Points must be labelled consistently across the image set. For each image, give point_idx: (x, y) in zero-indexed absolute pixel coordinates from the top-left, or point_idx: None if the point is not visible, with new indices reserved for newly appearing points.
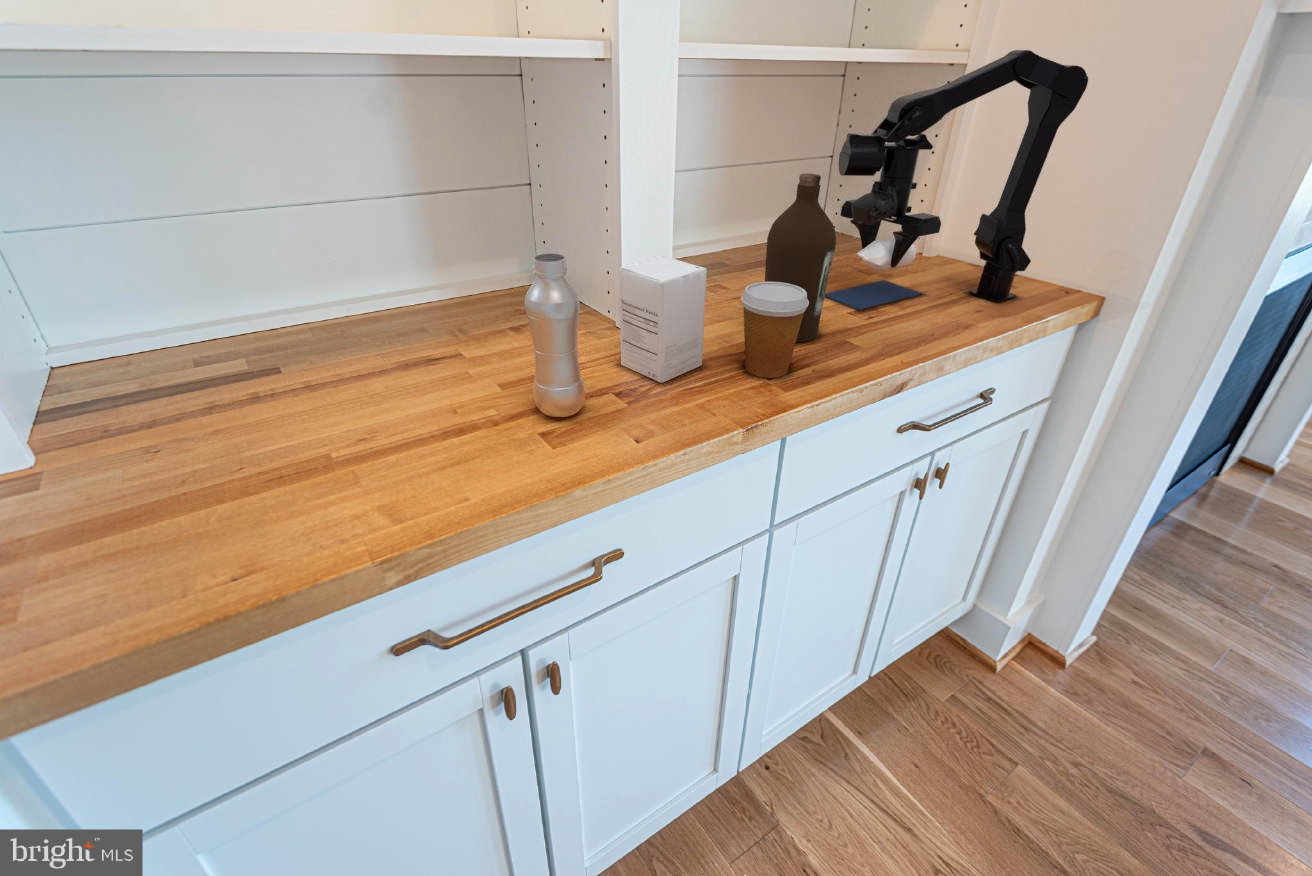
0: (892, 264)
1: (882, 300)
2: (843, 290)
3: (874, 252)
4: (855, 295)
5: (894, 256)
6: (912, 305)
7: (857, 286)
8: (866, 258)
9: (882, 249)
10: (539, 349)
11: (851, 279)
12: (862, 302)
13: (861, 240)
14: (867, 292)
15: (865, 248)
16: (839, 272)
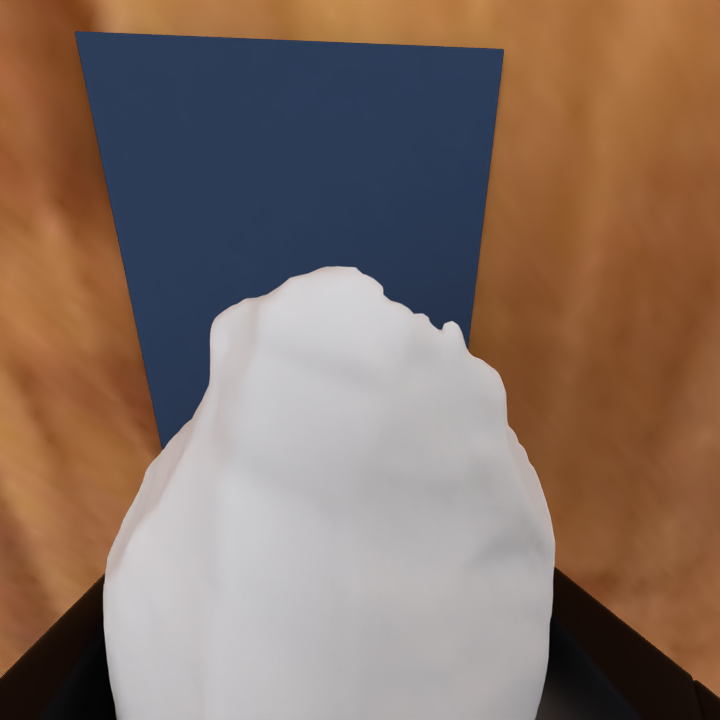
0: (100, 585)
1: (181, 355)
2: (462, 276)
3: (213, 538)
4: None
5: (16, 685)
6: (64, 464)
7: None
8: (225, 334)
9: (154, 690)
10: None
11: (564, 476)
12: (203, 194)
13: (702, 691)
14: None
15: (515, 586)
16: (668, 497)
